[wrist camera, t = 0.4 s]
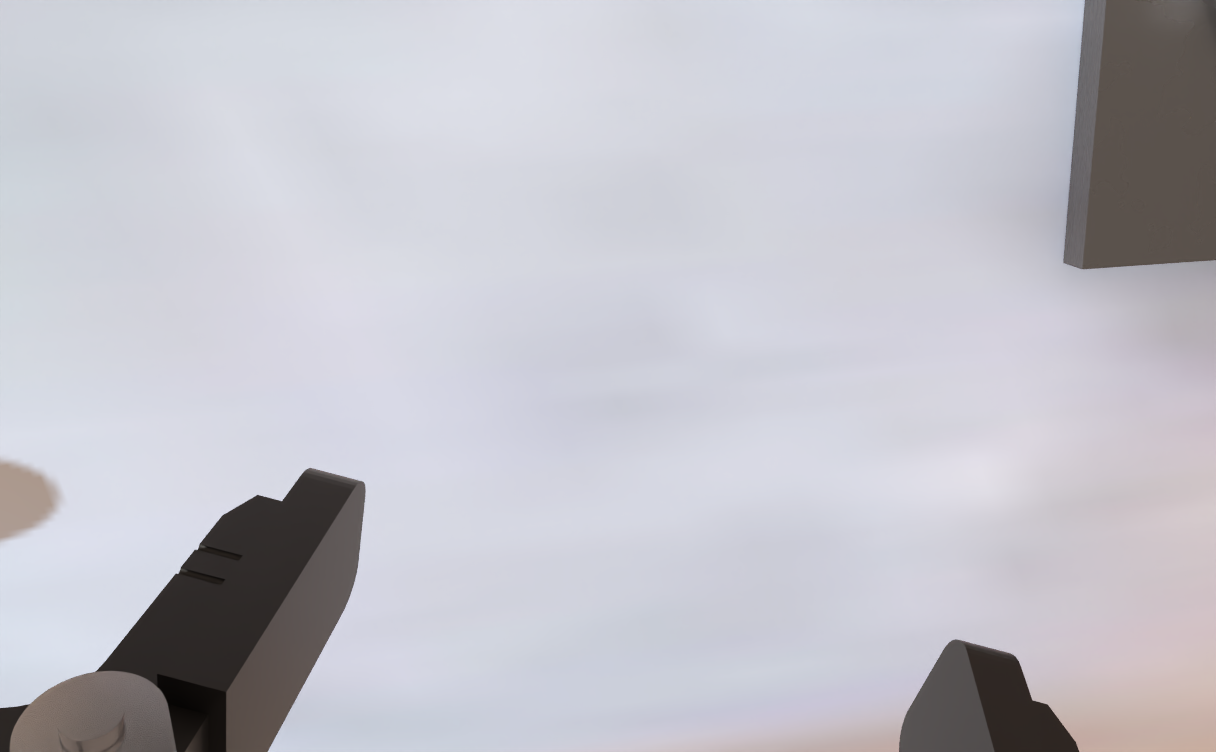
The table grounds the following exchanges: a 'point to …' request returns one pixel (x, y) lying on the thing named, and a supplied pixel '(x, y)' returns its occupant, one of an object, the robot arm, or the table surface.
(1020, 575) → the table surface
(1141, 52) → the base plate
